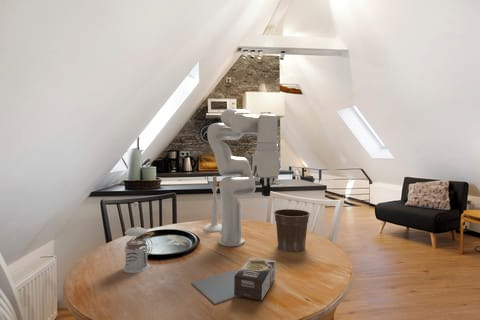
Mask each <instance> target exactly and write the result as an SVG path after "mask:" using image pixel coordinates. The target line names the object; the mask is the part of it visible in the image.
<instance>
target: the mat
mask: <svg viewBox="0 0 480 320" xmlns="http://www.w3.org/2000/svg"><path fill="white" fill-rule="evenodd" d="M239 270H240V269H234V270H230V271H227V272H223V273H220V274H217V275H212V276H208V277H205V278H201V279H198V280H195V281H191V283H190V284H191V285H192V286H194V287H195V288H196V289H197V290H198V291H199V292H200V293H201V294H202V295H203V296H204V297H206V298H207V299H208V301H210V302H211V303H212V304H213V305H215V306H216V305H218V304H221V303H224V302H227V301H230V300H233V299H236V298H239V297H240V296H237V295H234V276H235V275H236V274H237V272H238V271H239Z"/></svg>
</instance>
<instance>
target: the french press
mask: <svg viewBox="0 0 480 320" xmlns="http://www.w3.org/2000/svg"><path fill="white" fill-rule="evenodd" d="M132 206H135V207H134V208H135V209H137V206H139V202H137V201H135V202H133V204H132ZM147 232H148V230H147V229H146V228H144V227H140V226H134V227H131V228H129V229H127V230H125V232H124V234H125V236H129V237H135V239H132V240H129V241H126V244H125V245H126V246H125V249H124V250H125V251H124V253H125V265H124V266H123V268H122V271H123V272H125V273H128V274H135V273H136V274H138V273H141V272H144V271H146V270H149V269H150V266H151V265H150V263H149V262H148V256H149V255H150V254H151V253H152V251H153V248H151V249H150V248H148V245H150V243H151V245H153V242H152V239H151V238H150V236H149V235H146V236H144V235H145V234H147ZM142 235H143V237H142V239H140V238H138V237H137V236H142ZM148 239H149V241H150V243H149V241H148Z"/></svg>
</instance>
